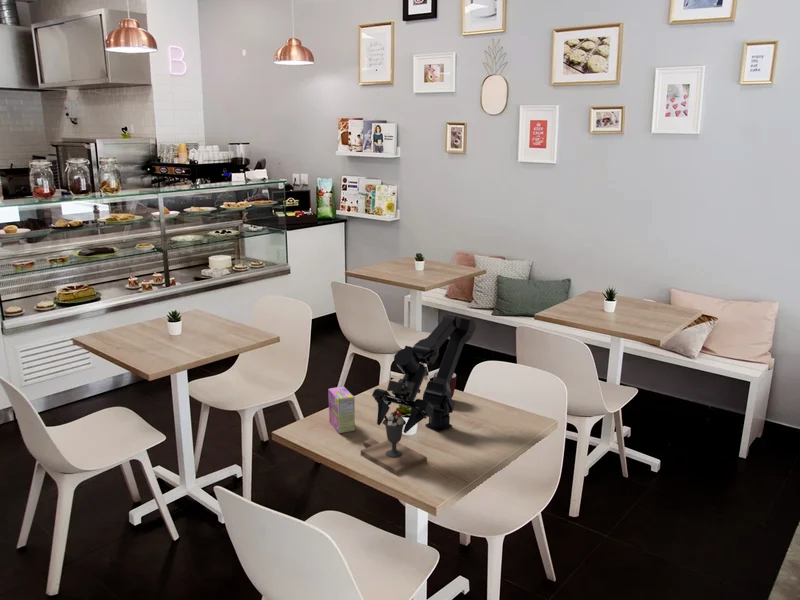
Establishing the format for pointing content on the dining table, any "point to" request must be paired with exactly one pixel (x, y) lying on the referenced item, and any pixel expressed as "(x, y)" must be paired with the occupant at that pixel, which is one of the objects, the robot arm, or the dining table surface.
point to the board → (394, 465)
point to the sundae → (394, 431)
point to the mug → (452, 383)
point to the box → (341, 409)
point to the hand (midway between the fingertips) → (391, 428)
